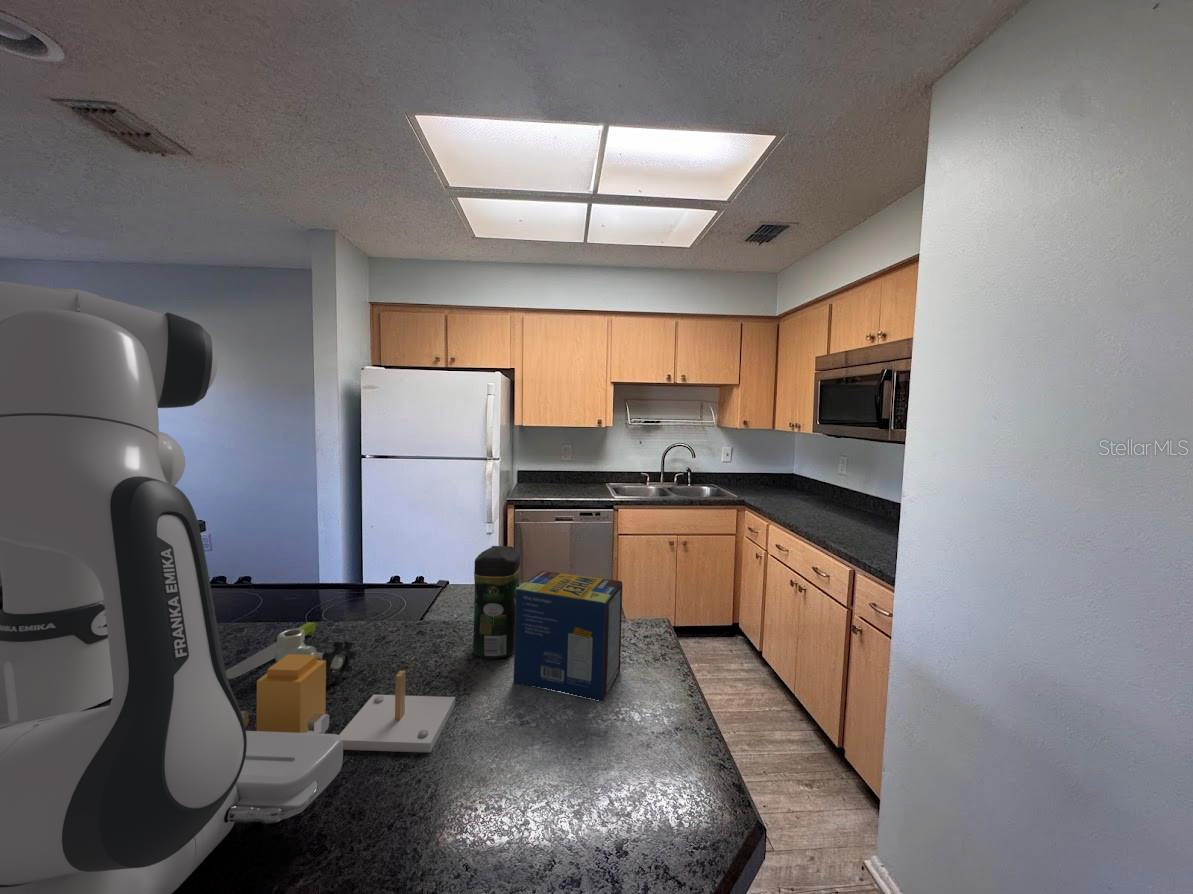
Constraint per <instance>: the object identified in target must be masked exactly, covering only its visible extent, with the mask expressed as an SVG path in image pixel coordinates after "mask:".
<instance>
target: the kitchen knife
mask: <svg viewBox="0 0 1193 894" xmlns="http://www.w3.org/2000/svg"><path fill="white" fill-rule="evenodd" d="M296 629H302V630H305V637H307V635H313V634H314V632H315V631H316V629H317V624H316V622H311V621H308V622H307V623H304V624H302V625H301V626H299V627H297V628H296ZM277 648H278V647H277V641H276V642H274V643H272V644H271V645H268V646H267V647H265V648H264V649H262V650H260V651H258V652H256V653H255V654H253V655H251V656H249V657H248V658H246V659H244V660H242V661H240V662H239V663H237V664H236V665H234V666H232V667H229V668H228V669H225V671H226V675H227V678H228V680H231V679H235V678H237V677H240V676H242V675H244V674H246V673H248V672H250V671H252V670H254V669H256V668H258V667H260V666H262V665H264V664H266V663H268V662H270V661H272V660H273V659H275V654H276V650H277Z"/></svg>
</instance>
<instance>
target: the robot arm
mask: <svg viewBox="0 0 1193 894" xmlns="http://www.w3.org/2000/svg"><path fill="white" fill-rule="evenodd" d="M217 370H218V357H217V352H216V350H215V348H214V345H213V341H212V337H211V335H210V334H209V333H208V331H206V330H205V328H204V327H203V326H202V325H201V324H200V323H197V322H195V321H192V320H191V319H188V318H185V317H183V316H180V315H177V314H175V313H172V312H166V313H165V314H164V313H160V312H157V311H154V310H150V309H147V308H144V307H141V306H137V305H133V304H130V303H126V302H123V301H119V300H114V299H111V298H106V297H103V296H100V295H98V294H95V293H92V292H89V291H85V290H82V289H77V288H70V287H68V288H67V287H42V286H38V285H30V284H24V283H18V282H9V281H3V280H0V579H1V588H2V589H1V590H2V608H1V609H0V894H174V892H175V891H176V890H177V889H178V888H179V887H181V885H182V884H184V882H185V881H186V880H187V879H188V878H189V877H190V875H192V874H193V873H194V871H195V870H196V869H197V868H198V867H199V866H200V865H201V864H202V863H203V861H204V860H205V859H206V858H207V857H208V856H209V854H211V853H212V852H213V851H214V850H215V848H216V847H217V846H218V845H219V844H220V843H221V842H222V840H224V838H225V837H227V835H228V834H229V833H230V832H231V830H232V829H233V827H234V825H235V823H252V822H262V823H265V824H273V823H274V824H275V823H279V822H280V821H281V820H285V819H289V818H291V817H294V816H296V815H297V814H298V815H299V814H300V813H302V812H303V811H304V810H306V808H307V807H308V806H309V805H310V804H311V803H312V802H314V800H315V799H317V798H318V796H319V795H320V794H321V793H323V791H324V790H325V789H326V788H327V787H328V786H329V785H330V784H331V783H332V781H334V779H335V778H336V777H337V776H338V774H340V772H341V769H342V767H343V759H344V758H343V757H344V750H343V744H342V740H341V738H340V736H339V734H336V733H326V731H328V729H329V726H330V714H328V713H325V714H315V715H314V717H312V718H311V719H310V720H309V721H308V729H309V730H308V731H307V732H306V733H292V732H266V731H257V730H247V729H246V727H248V724H249V720H250V718H249V715H250V712H249V710H248V711H247V710H246V711H245V710H241V709H240V707H239V704H238V702H237V699H236V697H235V694H234V692H233V690H232V687H231V684H230V682H229V679H228V678H227V675H226V669H225V663H224V658H223V653H222V652H223V651H222V646H221V639H220V634H219V629H218V628H219V627H218V623H217V617H216V616H217V615H216V610H215V605H214V599H213V593H212V587H211V582H210V577H209V576H210V575H209V569H208V563H207V559H206V553H205V549H204V548H205V547H204V543H203V538H202V535H201V529H200V526H199V525H200V524H199V521H198V518H197V516H196V513H195V510H194V507H193V506H192V504H191V501H190V500H189V498H188V496H186V494H185V493H184V492H183V491H182V490H181V489H180V488H178V487H177V486H176V485H177V484H178V483H179V482H180V480H181V478H182V476H183V474H184V472H185V468H186V457H185V454H184V450H183V449H182V447H181V445H180V444H179V442H177V440H175V439H174V438H173V437H172V436H171V435H170V434H168V433H165V432H163V431H159V430H160V429H159V426H160V423H159V420H160V419H159V409H172V408H173V409H174V408H185V407H190V406H192V407H193V406H195V404H197V403H198V402H200V401H202V400H203V399H204V398H205V397H206V395H207V393H208V391H209V389H210V388H211V386H212V384H213V383H214V381H215V379H216V375H217V372H218V371H217ZM110 699H111V701H110V704H109V705H106V706H102V707H101V706H100V707H96V706H99V704H102V703H105V702H107V701H108V700H110ZM93 707H95V708H93ZM90 708H91V709H90ZM324 732H325V734H323V733H324Z"/></svg>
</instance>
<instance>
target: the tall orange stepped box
mask: <svg viewBox="0 0 1193 894" xmlns="http://www.w3.org/2000/svg"><path fill="white" fill-rule="evenodd" d="M326 678H327V676H326V661H323V660H317V655H294V654H288V655H287V656H285V657H284V658H282V659H281V660H280V661H278V662H276V663H274V664H272V665H271V666H270V667H268V668H267V671H266V673H265V674H264V675H263V676H261V677H260V678H259V679H258V680H256V731H266V732H292V733H306V732H307V731H308V730H309V729H308V721H309V720H310V719H311V718H312V717H314V715H315V714H326V708H327V707H326V705H327V704H326V703H327V701H326V700H327V699H326V695H327V693H326V692H327V689H326V688H327V685H326ZM323 734H326V731H325V732H324V733H323Z"/></svg>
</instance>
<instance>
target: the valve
mask: <svg viewBox="0 0 1193 894" xmlns="http://www.w3.org/2000/svg"><path fill="white" fill-rule="evenodd" d="M305 637H306V636H305V630H302V629H297V628H290V629H286V630H283V631H281V632H280V633H279V634H278V635H277V636H276V642H277V647H278V648H277V650H276V654H275V658H274V659H275V662H276V663H277V662H278V661H280V660H281V659H282V658H284V657H285V656H287V655H288V654H294V655H317V660H323V661H326V686H331V684H336V685H339V684H341V683H342V682H343V675H344V673H346V674H349V673H351V672H352V670H353V666H352V665H351V664H350V661H351V660H353V659H355V658H356V656H357V652H356V651H355V650H350V649H351V648H352V647H353V642H352V641H349V640H345V641H343V642H342V641H337V640H336V641H334V642H333V644H332V648H334V650H333V651H332V652H330V651H324V652H317V648H315V647H314V646H311V645H306V644H305V642H304V641H305V640H306V639H305ZM340 654H343V655H344V657H340V656H339V655H340ZM334 669H339V670H338V671H334Z"/></svg>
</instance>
